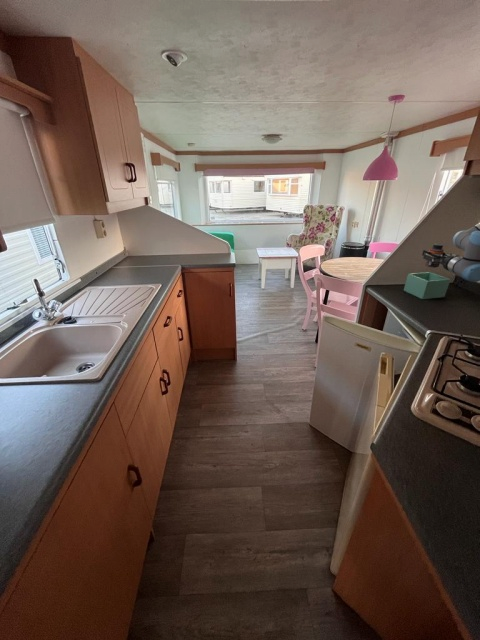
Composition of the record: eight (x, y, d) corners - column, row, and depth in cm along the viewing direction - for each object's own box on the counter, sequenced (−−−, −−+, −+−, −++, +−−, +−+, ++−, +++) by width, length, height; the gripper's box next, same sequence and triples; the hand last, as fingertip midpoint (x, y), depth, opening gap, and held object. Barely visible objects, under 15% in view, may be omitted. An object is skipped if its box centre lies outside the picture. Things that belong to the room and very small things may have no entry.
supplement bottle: (424, 264, 143) (431, 242, 138) (438, 265, 140) (445, 243, 135) (425, 267, 138) (431, 244, 133) (438, 268, 136) (446, 246, 130)
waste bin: (444, 296, 141) (450, 279, 137) (422, 299, 139) (427, 281, 135) (424, 288, 153) (429, 271, 149) (403, 290, 151) (408, 273, 147)
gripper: (431, 271, 123) (409, 259, 144) (475, 272, 121) (447, 259, 142) (436, 255, 120) (413, 245, 140) (482, 256, 118) (451, 245, 138)
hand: (430, 252), depth 141 cm, fingers closed on supplement bottle, 6 cm apart
